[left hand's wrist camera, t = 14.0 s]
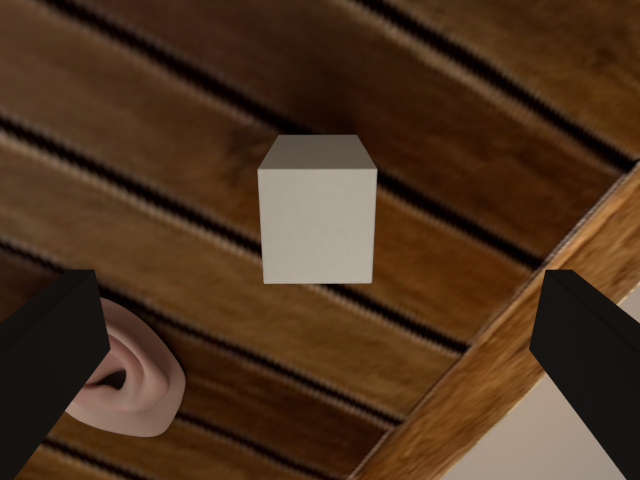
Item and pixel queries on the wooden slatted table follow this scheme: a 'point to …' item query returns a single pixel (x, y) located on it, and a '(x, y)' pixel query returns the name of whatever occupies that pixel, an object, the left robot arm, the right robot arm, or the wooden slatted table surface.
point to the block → (317, 210)
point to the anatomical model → (131, 380)
